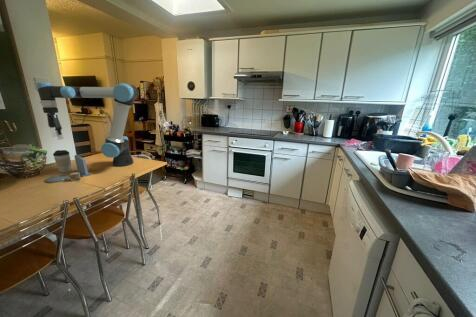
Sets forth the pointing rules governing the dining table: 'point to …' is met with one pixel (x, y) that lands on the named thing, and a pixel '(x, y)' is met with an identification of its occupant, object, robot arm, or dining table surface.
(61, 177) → the coaster
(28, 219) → the dining table surface
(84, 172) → the screen
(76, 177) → the letter block
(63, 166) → the coffee cup
